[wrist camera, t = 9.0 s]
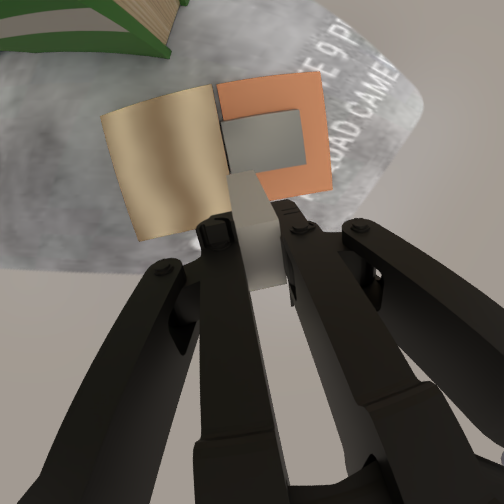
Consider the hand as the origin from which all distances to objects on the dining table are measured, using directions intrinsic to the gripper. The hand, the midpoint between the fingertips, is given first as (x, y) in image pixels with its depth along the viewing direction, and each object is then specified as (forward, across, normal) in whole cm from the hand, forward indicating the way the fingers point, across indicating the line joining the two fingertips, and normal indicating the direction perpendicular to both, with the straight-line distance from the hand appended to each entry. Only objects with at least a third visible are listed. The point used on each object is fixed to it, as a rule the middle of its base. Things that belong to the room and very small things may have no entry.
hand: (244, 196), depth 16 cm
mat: (+17, +6, 0) cm, 18 cm away
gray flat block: (+16, +4, 0) cm, 17 cm away
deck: (+17, -6, 0) cm, 18 cm away
